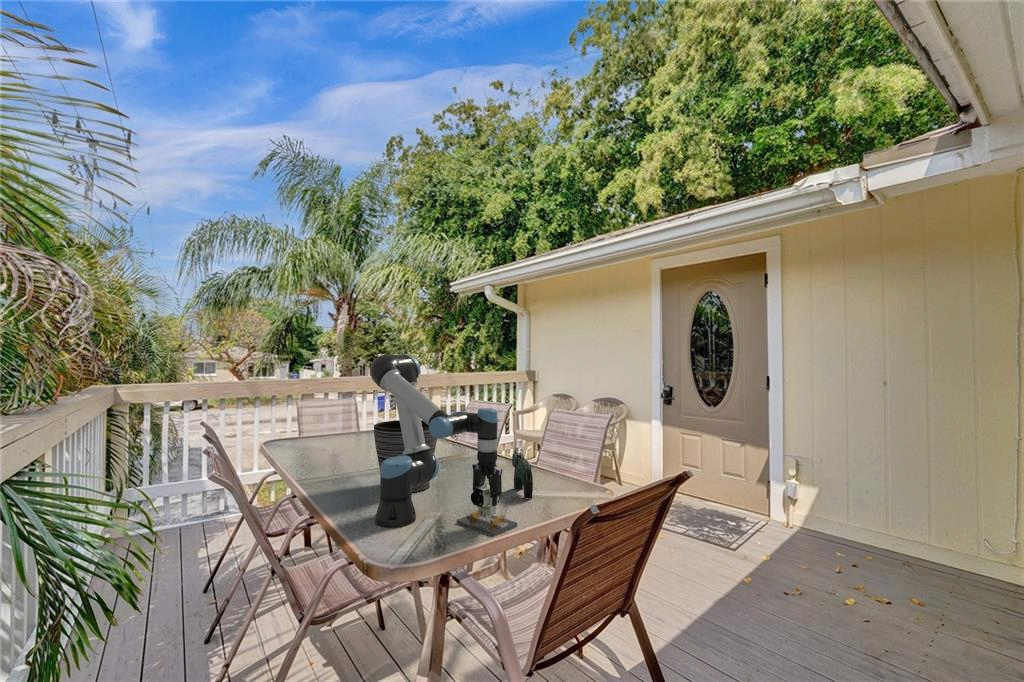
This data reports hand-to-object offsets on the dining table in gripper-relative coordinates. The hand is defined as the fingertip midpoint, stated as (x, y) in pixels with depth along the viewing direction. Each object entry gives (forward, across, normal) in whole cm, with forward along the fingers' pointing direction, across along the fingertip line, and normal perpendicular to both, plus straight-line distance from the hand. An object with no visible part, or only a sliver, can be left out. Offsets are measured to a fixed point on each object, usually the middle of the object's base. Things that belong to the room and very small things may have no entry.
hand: (486, 512), depth 173 cm
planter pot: (+5, +62, -9) cm, 63 cm away
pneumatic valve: (+2, 0, 0) cm, 2 cm away
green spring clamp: (+5, +15, -40) cm, 43 cm away
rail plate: (+5, 0, 0) cm, 5 cm away
